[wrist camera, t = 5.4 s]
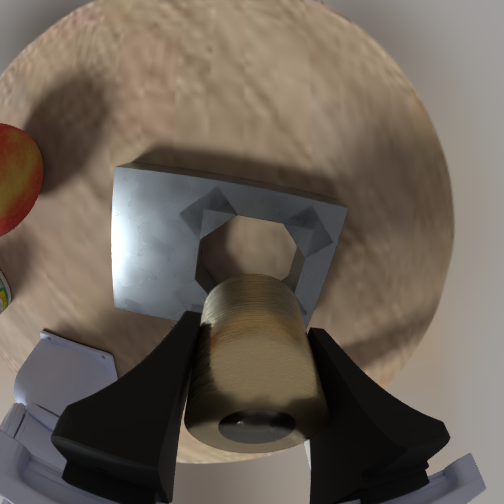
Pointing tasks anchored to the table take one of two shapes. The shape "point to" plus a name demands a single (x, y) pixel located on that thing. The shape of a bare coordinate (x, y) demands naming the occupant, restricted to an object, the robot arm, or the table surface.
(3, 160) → the apple
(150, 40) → the table surface
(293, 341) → the bushing
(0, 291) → the supplement bottle
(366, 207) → the table surface
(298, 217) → the plate
